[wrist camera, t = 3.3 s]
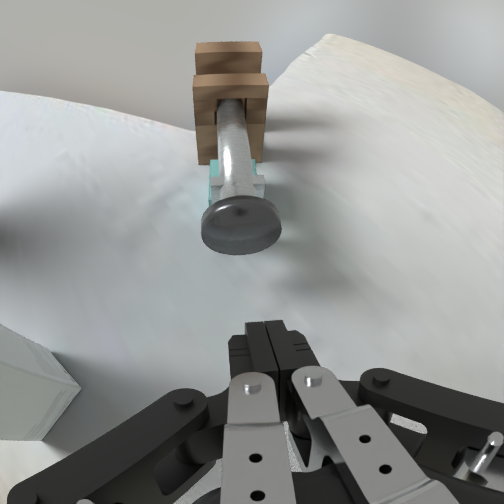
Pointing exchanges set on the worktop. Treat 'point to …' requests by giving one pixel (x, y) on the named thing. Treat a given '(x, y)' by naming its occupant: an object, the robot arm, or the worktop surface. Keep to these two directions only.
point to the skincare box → (30, 388)
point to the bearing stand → (228, 93)
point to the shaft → (237, 192)
